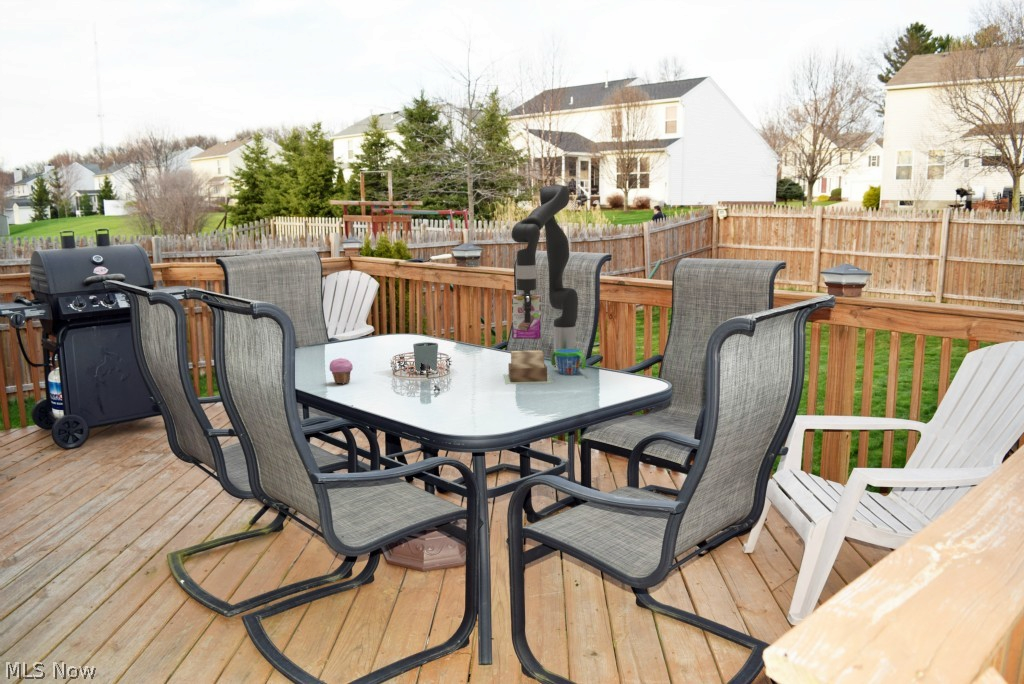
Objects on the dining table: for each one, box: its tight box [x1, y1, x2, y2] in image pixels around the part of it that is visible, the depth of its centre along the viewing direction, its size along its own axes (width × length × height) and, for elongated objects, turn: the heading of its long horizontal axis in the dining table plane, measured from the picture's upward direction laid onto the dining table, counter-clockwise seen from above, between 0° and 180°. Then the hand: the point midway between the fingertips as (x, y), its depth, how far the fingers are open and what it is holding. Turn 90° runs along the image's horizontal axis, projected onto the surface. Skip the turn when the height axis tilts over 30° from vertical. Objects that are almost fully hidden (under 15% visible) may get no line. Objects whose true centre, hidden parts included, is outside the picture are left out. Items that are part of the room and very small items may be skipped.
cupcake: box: [329, 357, 354, 384], centre depth 303 cm, size 9×9×10 cm
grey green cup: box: [412, 341, 439, 371], centre depth 322 cm, size 10×10×12 cm
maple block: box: [510, 349, 545, 369], centre depth 301 cm, size 12×10×5 cm
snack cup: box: [550, 348, 587, 376], centre depth 311 cm, size 16×11×10 cm
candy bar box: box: [511, 294, 543, 340], centre depth 298 cm, size 11×5×16 cm, turn 84°
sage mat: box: [502, 372, 554, 385], centre depth 302 cm, size 18×18×1 cm
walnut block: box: [508, 362, 548, 382], centre depth 301 cm, size 14×12×5 cm
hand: (526, 321), depth 298 cm, fingers closed on candy bar box, 5 cm apart
